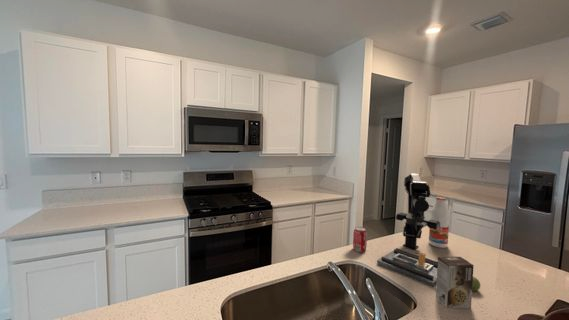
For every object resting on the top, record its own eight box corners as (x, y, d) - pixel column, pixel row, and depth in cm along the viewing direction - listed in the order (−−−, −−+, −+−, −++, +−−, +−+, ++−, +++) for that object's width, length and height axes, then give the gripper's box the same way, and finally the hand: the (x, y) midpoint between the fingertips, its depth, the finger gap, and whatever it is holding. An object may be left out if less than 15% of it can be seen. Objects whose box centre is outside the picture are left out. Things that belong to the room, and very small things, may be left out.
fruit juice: (447, 244, 140) (450, 197, 138) (447, 249, 132) (450, 200, 131) (429, 240, 145) (431, 195, 144) (427, 245, 138) (430, 197, 136)
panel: (395, 252, 128) (396, 246, 128) (448, 271, 110) (448, 264, 109) (377, 264, 115) (377, 257, 114) (433, 287, 97) (433, 279, 96)
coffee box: (457, 297, 91) (460, 256, 90) (471, 308, 84) (474, 264, 83) (434, 297, 90) (437, 256, 89) (446, 308, 84) (449, 264, 83)
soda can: (364, 247, 133) (365, 226, 132) (367, 253, 126) (368, 231, 125) (351, 246, 134) (352, 226, 133) (354, 252, 127) (355, 230, 126)
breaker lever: (418, 263, 111) (418, 251, 111) (427, 267, 108) (428, 254, 108) (415, 265, 109) (416, 253, 109) (424, 269, 106) (425, 256, 106)
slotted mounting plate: (381, 259, 115) (381, 257, 115) (396, 250, 126) (397, 247, 126) (432, 280, 98) (432, 276, 98) (444, 266, 109) (445, 263, 109)
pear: (471, 279, 93) (449, 270, 103) (472, 293, 92) (450, 283, 102) (483, 278, 94) (461, 269, 104) (484, 292, 93) (462, 282, 103)
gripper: (391, 205, 119) (390, 235, 121) (433, 213, 105) (431, 247, 106) (401, 201, 127) (399, 230, 128) (441, 209, 113) (439, 241, 114)
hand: (416, 237), depth 119 cm, fingers closed
